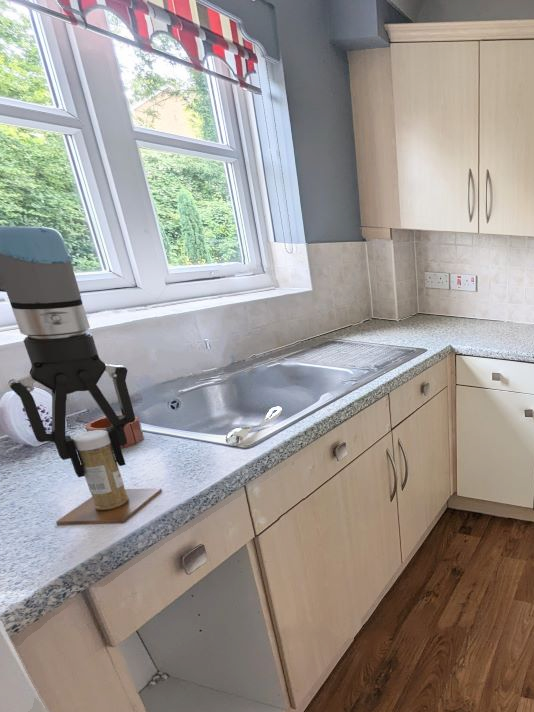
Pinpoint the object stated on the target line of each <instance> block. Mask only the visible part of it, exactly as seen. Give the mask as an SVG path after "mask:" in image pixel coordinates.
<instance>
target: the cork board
mask: <svg viewBox="0 0 534 712" xmlns="http://www.w3.org/2000/svg"><path fill="white" fill-rule="evenodd" d="M125 491H126V494H127V496H128V501H127V502H126V503H124V504H123V505H121V506H119V507H116V508H113V509H108V510H98V509H96V508H95V506H94V505H95V503H94V500H93V497H92V496H91V497H89V498H88V499H87V500H85V501H84V502H82V503H81V504H80V505H78V506H76V507H75V508H74V509H72V510H71V511H69V512H68V513H66V514H65V515H64V516H62V517H61V518H59V519H58V520H56V522H55V523H56V525H57V526H58V525H59V526H60V525H63V526H64V525H90V524H91V525H92V524H93V525H94V524H124V523H126V521H128V520H129V519H130V518H131V517H133V516H134V515H135V514H136V513H138V512H139V511H140V510H141V509H142V508H143V507H145V506H147V504H148V503H149V502H151V501H152V500H153V499H155V498H156V497H157V496H158V495H159V494H160V493H162V491H163V490H162V488H160V487H159V488H125Z"/></svg>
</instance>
